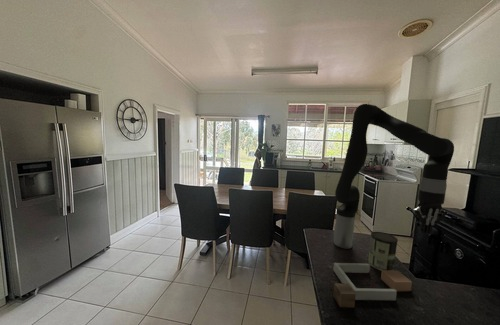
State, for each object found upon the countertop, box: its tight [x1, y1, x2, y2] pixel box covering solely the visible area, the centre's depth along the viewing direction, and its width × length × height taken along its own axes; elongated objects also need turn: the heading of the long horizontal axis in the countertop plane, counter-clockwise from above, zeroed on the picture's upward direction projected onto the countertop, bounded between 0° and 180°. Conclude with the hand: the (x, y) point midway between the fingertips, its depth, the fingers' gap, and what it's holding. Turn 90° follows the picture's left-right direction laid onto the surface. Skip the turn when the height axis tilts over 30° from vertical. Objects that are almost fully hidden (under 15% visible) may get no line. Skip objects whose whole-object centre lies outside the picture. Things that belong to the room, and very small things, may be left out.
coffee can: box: [367, 231, 398, 272], centre depth 94 cm, size 10×10×14 cm
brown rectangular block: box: [380, 269, 413, 292], centre depth 81 cm, size 7×7×4 cm
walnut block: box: [332, 282, 356, 308], centre depth 71 cm, size 5×5×5 cm
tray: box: [332, 262, 398, 301], centre depth 80 cm, size 16×15×4 cm
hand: (425, 233), depth 79 cm, fingers closed
